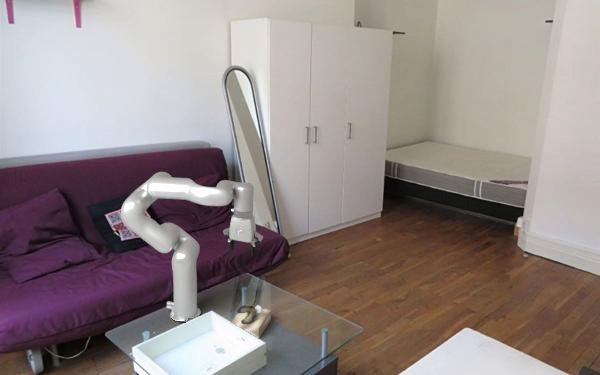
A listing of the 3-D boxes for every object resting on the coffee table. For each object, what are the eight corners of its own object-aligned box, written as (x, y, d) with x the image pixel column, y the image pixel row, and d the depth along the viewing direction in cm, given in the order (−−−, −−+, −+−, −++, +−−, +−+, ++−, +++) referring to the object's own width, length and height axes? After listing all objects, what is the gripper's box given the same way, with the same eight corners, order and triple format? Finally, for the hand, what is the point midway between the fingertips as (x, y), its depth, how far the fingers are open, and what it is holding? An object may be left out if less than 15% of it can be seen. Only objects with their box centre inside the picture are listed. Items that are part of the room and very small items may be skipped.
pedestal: (230, 332, 190) (231, 321, 188) (244, 314, 203) (245, 304, 201) (258, 338, 186) (258, 328, 185) (270, 320, 199) (271, 310, 198)
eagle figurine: (244, 307, 197) (232, 313, 189) (254, 296, 194) (242, 302, 186) (256, 321, 194) (244, 328, 186) (266, 310, 192) (254, 317, 184)
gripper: (219, 212, 186) (219, 252, 191) (260, 219, 181) (258, 259, 186) (227, 207, 193) (227, 245, 198) (267, 213, 188) (265, 252, 193)
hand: (242, 252), depth 192 cm, fingers open, 9 cm apart
